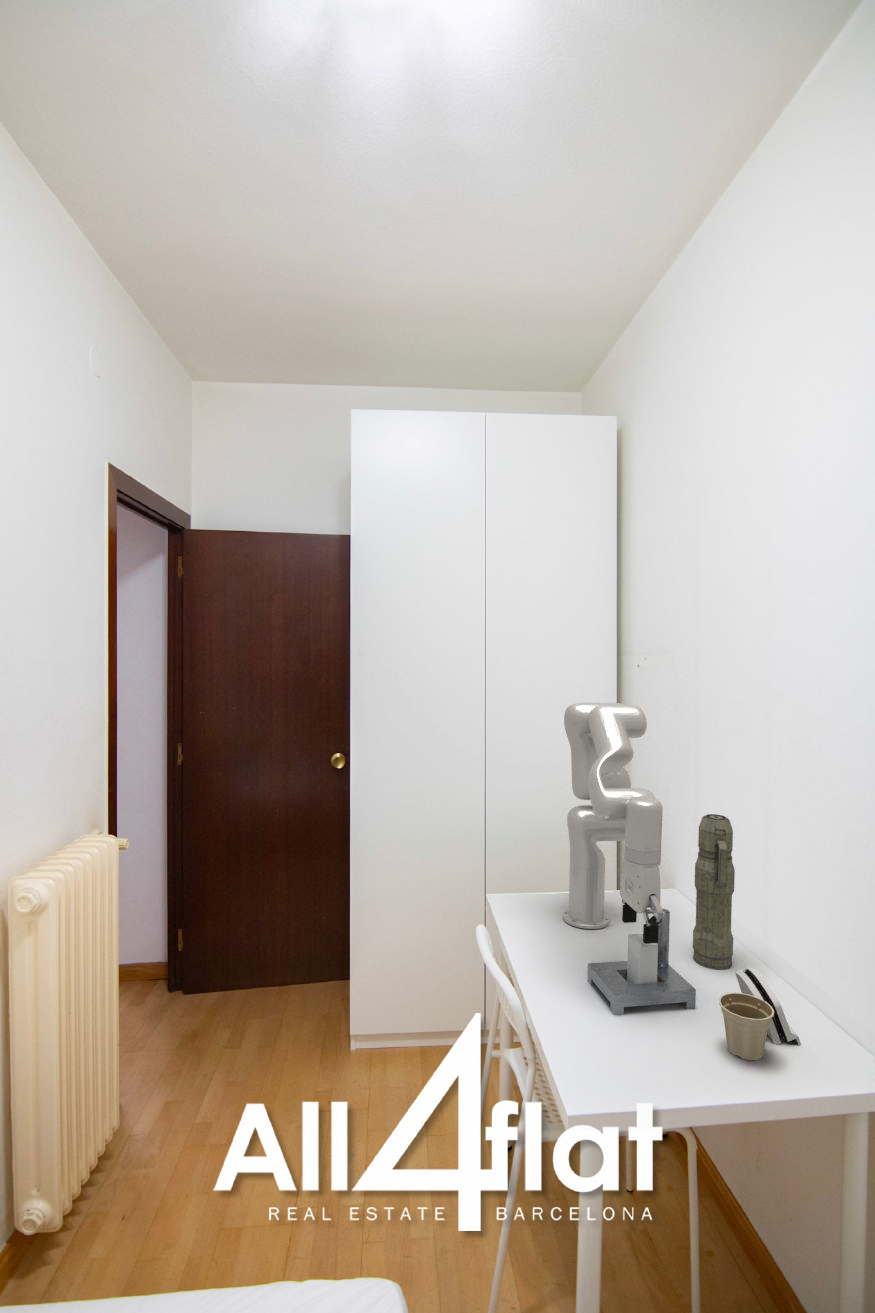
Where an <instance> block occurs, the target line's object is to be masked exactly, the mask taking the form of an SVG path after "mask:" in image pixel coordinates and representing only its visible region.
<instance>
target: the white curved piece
mask: <svg viewBox="0 0 875 1313" xmlns="http://www.w3.org/2000/svg"><path fill="white" fill-rule="evenodd" d="M735 976H736V979H737V982H738V983H737V984H738V986H739V989H740V993H744V994H749V995H752V996H755V997H758V998H760V999H762V1000H764V1001H765V1002H767V1003H768V1004H769V1005H770V1006H771V1007H772V1008H773V1010H774V1016H773V1017H772V1018H771V1022H770V1024H769V1026H768V1031H767V1035H768V1037H769V1038H770V1039H771V1041H772V1043H773V1044H774V1045H782V1042H783V1040H784V1041H787V1042H788V1043H789V1042H791V1041H793V1040H794V1041H795V1042H796V1044H797V1045H798V1046H802V1042H801V1039H800V1036H799V1035H798V1034H797V1033H796V1031H795V1030H794V1029H793V1027H792V1026H791V1025H790V1023H789V1022H788V1020H787V1018H786V1016H785V1013H784V1010H783V1007H782V1004H781V1003H780V1000H779V999H778V997H777V996H776V994H775V993H774V990H772V988H771V986H770V985H769V984H768V982H767V981H766V979H765V978H764V977H763V976H762V974H761V973H760V972H759V971H758V970H757V969H755V968H754V967H748V968H747V967H746V969H744V970H741V969H739V970H737V971H736V972H735Z"/></svg>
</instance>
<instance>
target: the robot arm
mask: <svg viewBox="0 0 875 1313" xmlns="http://www.w3.org/2000/svg"><path fill="white" fill-rule="evenodd" d="M563 715H564V716H563V724H564V730H565V734H566V737H567V740H568V742H569V748H570V757H571V760H570V761H571V763H570V764H571V789H572V793H573V795H574V796H575V798H576V799H579V800H582V801H583V800H584V801H590V803H591V804H590V805H589V804H583V805H577V806H574V807H573V808H571V809H570V810H569V811H568V813H567V817H566V818H567V819H566V821H567V822H566V823H567V824H566V825H567V831H568V839H569V840H568V841H569V878H568V879H569V880H568V882H569V884H568V908H567V909H565V910H564V911H563V912H562V919H563V921H564V922H565V923H566V924H569V925H570V926H571V927H575V928H579V929H586V930H599V929H604V928H606V927H607V926H609V925H610V922H611V920H610V916H609V915H608V914H607V913H605V890H606V889H605V886H606V880H605V879H606V857H605V854H604V852H603V851H602V849H601V848H600V847H599V846H598V844H597V842H620V841H621V842H622V841H624V856H623V861H622V867H621V874H620V884H619V886H620V887H619V888H620V889H619V895H620V897H621V903H622V914H621V915H622V916H621V917H622V918H621V919H622V920H621V921H622V922H623V923H624V924H626V923H627V924H630V923H631V924H632V923H636V922H637V914H642V916H643V919H644V922H645V923H644V924H643V930H642V931H643V932H642V934H643V942H644V943H645V944H649V943H658V933H659V925H660V922H661V921H662V916H663V914H664V912H663V909H664V908H662V906H661V896H662V895H661V872H660V866H661V862H662V860H661V859H662V858H661V857H662V837H663V836H662V832H663V813H664V811H663V809H664V808H663V804H662V802H661V801H660V800H659V799H657V798H656V796H655V794H654V793H653V792H652V791H651V790H650V789H646V788H641V787H640V788H639V787H637V788H635V787H634V788H633V787H632V782H631V778H630V774H629V772H628V770H626V768H625V766H627V765H629V763H630V762H631V761H632V760H633V758H634V750H633V747H632V744H631V741H630V739H638V738H639V739H640V738H642V737H643V736H644V735H645V734H646V732H647V727H648V726H647V725H648V723H647V721H648V720H647V718H646V714H645V713H644V711H643V709H642V708H641V707H640V706H638V705H636V704H635V705H634V704H629V703H625V702H622V703H618V702H613V703H612V702H576V703H573V704H570V705H568V706H567V707H566V709H565V711H564V714H563ZM650 914H652V916H651V917H649V915H650Z"/></svg>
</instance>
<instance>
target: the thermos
mask: <svg viewBox="0 0 875 1313" xmlns="http://www.w3.org/2000/svg"><path fill="white" fill-rule="evenodd" d="M733 835H734V830H733V827H732V824H731V820H730V819H729V818H728V817H727V816H724V815H720V814H717V813H716V814H715V813H714V814H712V813H711V814H710V813H709V814H705V815H704V816H702V817H701V820H700V823H699V825H698V838H697V839H698V841H697V842H698V844H697V846H698V852H697V859H696V861H695V864H694V887H695V890H696V894H695V895H696V898H695V899H696V901H695V902H696V903H695V904H696V905H695V926H694V928H693V930H692V949H693V955H692V958H693V961H694V962H695V963H696V964H698V965H699V966H701V967H704V968H706V969H710V970H711V969H712V970H718V971H719V970H720V971H721V970H722V971H723V970H728V969H730V968H731V967H732V966H733V962H732V961H733V960H732V957H733V955H734V935H733V934H732V907H733V902H732V901H733V894H734V892H735V875H736V874H735V873H736V871H735V870H736V869H735V866H734V863H733V856H732V852H733V846H734V845H733V844H734V843H733V840H734V838H733V837H734V836H733Z"/></svg>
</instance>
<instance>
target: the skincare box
mask: <svg viewBox="0 0 875 1313" xmlns="http://www.w3.org/2000/svg"><path fill="white" fill-rule="evenodd" d="M626 957H627V960H626V961H627V983H628V984H629V985H631V984H644V983H657V963H658V944H657V943H649V944H645V943H644V942H643V933H630V934H627V956H626Z"/></svg>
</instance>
